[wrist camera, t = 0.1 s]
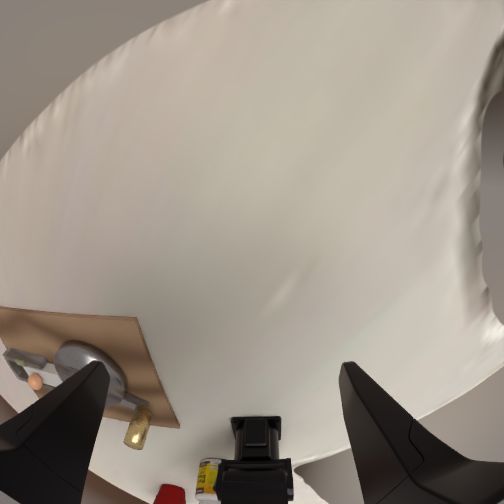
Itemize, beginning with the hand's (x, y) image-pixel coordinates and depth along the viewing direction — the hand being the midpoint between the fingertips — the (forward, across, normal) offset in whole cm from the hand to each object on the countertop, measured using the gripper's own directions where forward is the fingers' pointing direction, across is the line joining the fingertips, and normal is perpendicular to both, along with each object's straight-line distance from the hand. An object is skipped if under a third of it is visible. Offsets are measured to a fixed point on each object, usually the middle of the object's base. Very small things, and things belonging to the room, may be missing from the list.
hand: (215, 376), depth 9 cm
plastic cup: (+15, +22, +63) cm, 69 cm away
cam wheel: (+14, +19, +18) cm, 29 cm away
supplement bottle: (+15, +8, +42) cm, 45 cm away
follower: (+14, +29, +18) cm, 37 cm away
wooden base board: (+15, +25, +18) cm, 34 cm away
